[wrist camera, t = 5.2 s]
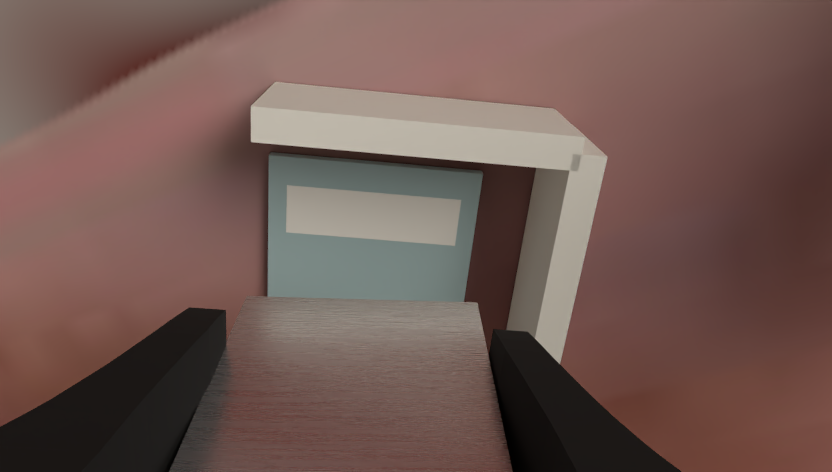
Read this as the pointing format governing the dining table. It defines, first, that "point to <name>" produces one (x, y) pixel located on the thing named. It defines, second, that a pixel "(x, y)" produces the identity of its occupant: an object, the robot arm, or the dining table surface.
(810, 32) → the dining table surface
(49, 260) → the dining table surface
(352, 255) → the mat
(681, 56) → the dining table surface
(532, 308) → the cream l-shaped piece
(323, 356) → the bracket
